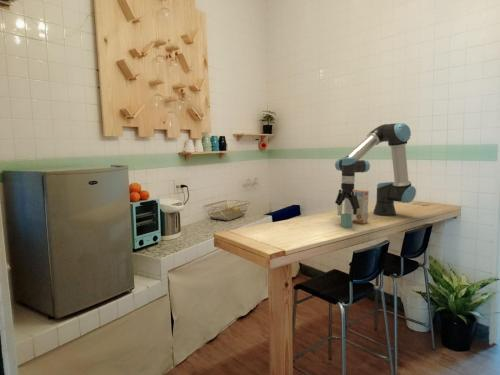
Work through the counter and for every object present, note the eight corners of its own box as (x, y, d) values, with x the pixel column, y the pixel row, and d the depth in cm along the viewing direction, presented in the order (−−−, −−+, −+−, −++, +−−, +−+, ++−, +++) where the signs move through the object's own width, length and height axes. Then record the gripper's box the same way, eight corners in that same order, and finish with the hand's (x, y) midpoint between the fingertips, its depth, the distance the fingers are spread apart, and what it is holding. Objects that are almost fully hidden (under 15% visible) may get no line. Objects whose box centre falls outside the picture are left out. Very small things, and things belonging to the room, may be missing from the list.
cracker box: (367, 223, 215) (369, 190, 212) (362, 224, 211) (364, 191, 208) (348, 219, 225) (349, 188, 223) (343, 220, 221) (344, 189, 219)
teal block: (347, 225, 208) (347, 213, 207) (352, 227, 203) (352, 214, 202) (340, 226, 206) (340, 213, 205) (345, 228, 202) (346, 215, 201)
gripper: (330, 181, 212) (329, 214, 214) (356, 185, 188) (354, 222, 191) (340, 180, 214) (339, 213, 217) (367, 184, 191) (365, 221, 194)
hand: (346, 217), depth 204 cm, fingers open, 13 cm apart
